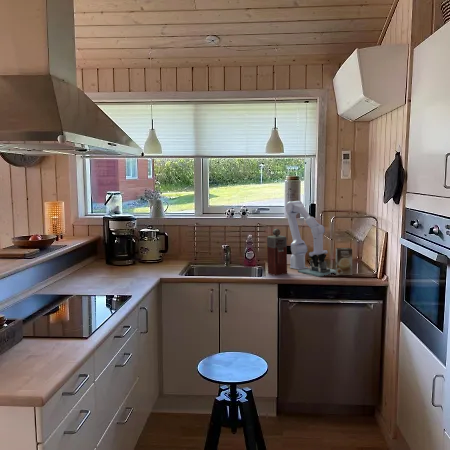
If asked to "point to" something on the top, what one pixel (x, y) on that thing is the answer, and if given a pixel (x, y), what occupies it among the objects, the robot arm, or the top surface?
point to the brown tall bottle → (277, 253)
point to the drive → (320, 265)
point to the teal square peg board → (316, 273)
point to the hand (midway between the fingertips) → (318, 266)
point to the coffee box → (343, 261)
